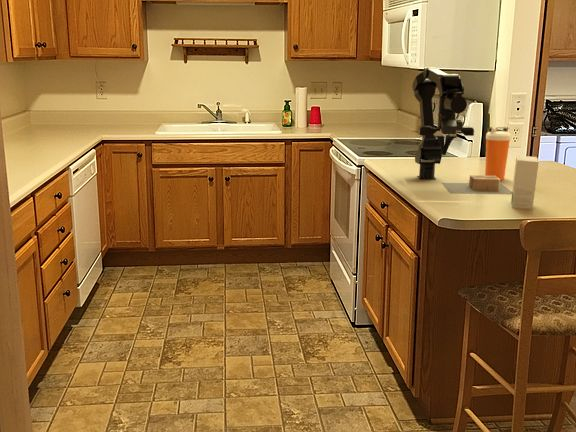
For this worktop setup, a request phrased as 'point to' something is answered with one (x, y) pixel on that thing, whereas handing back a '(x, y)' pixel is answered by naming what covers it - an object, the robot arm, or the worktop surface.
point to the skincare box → (524, 182)
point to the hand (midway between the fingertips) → (444, 154)
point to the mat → (465, 189)
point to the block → (484, 183)
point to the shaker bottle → (496, 151)
